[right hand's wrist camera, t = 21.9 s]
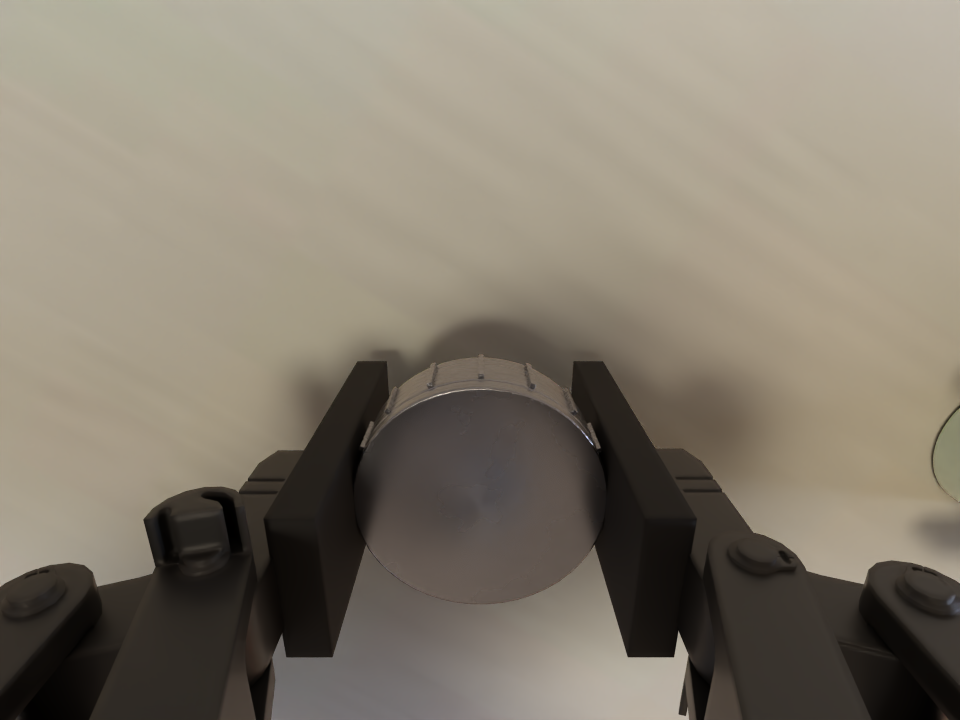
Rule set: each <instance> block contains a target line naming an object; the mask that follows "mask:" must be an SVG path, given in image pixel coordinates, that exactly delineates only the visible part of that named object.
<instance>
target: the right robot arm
mask: <svg viewBox="0 0 960 720" xmlns="http://www.w3.org/2000/svg"><path fill="white" fill-rule="evenodd" d="M571 396H572V398H573V401H574V402H575V403H576V405H577V406H578V407H579V409H580V411H581V413H582V415H583V416H584V418H585V420H586V423H587V424H588V423H591V425H592V427H593V429H594V432H595V434H596V437H597V439H598V441H599V444H600V446H601V449H602V452H601V453H599V456H600V458H601V461H602V464H603V466H604V469H605V473H606V478H607V483H608V490H607V502H606V512H605V520H604V524H603V527H602V530H601V532H600V534H599V537H598V539H597V541H596V542H595V548H596V551H597V554H598V558H599V561H600V564H601V568H602V571H603V575H604V578H605V581H606V585H607V588H608V592H609V595H610V598H611V602H612V605H613V609H614V612H615V615H616V619H617V622H618V625H619V629H620V632H621V636H622V639H623V642H624V646H625V649H626V653H627V656H628V657H674V654H675V648H676V642H677V636H678V630H679V633H680V635H681V638H682V640H683V642H684V645H685V647H686V649H687V652H688V654H689V656H688V661H687V667H686V672H685V678H684V684H683V689H682V695H681V700H680V707H679V715H684V716H686V713H687V707H688V712H689V720H960V583H958V582H957V581H955V580H953V579H951V578H949V577H947V576H945V575H943V574H941V573H939V572H937V571H935V570H933V569H930V568H927V567H923V566H921V565H917V564H913V563H907V562H899V561H886V562H879V563H876V564H875V565H874V566H873V567H871V568H870V569H869V570H868V574H867V577H866V580H865V583H864V584H859V583H854V582H850V581H845V580H841V579H836V578H831V577H827V576H822V575H818V574H815V573H811V572H808V571H806V569H805V566H804V565H803V564H802V562H801V561H800V559H799V558H798V557H797V555H796V554H795V553H793V552H792V551H791V550H789V549H788V548H787V547H785V546H784V545H783V544H781V543H779V542H777V541H775V540H773V539H771V538H769V537H766V536H764V535H760V534H756V533H753V532H752V530H751V529H750V528H749V526H748V525H747V523H746V522H745V521H744V519H743V518H742V517H741V515H740V514H739V512H738V511H737V510H736V508H735V507H734V506H733V504H732V503H731V501H730V500H729V499H728V497H727V496H726V495H725V493H722V489H721V488H720V486H719V485H718V484H717V482H716V481H715V480H713V477H712V475H711V474H710V473H709V471H708V470H707V468H706V467H705V466H704V464H703V463H702V462H701V461H700V460H698V459H697V458H695V457H694V456H692V455H691V454H689V453H688V452H686V451H685V450H683V449H655V448H654V446H653V444H652V443H651V441H650V439H649V438H648V436H647V434H646V433H645V431H644V429H643V428H642V426H641V424H640V423H639V421H638V419H637V418H636V416H635V414H634V413H633V411H632V409H631V408H630V406H629V404H628V403H627V401H626V399H625V398H624V396H623V394H622V393H621V391H620V389H619V388H618V386H617V384H616V383H615V381H614V379H613V378H612V376H611V374H610V373H609V371H608V369H607V368H606V366H605V364H604V363H603V361H574V364H573V379H572V395H571ZM388 399H389V390H388V374H387V361H358V362H357V363H356V365H355V367H354V368H353V370H352V372H351V373H350V375H349V377H348V378H347V380H346V382H345V383H344V385H343V387H342V388H341V390H340V392H339V393H338V395H337V397H336V398H335V400H334V402H333V403H332V405H331V407H330V408H329V410H328V412H327V413H326V415H325V417H324V418H323V420H322V422H321V423H320V425H319V427H318V428H317V430H316V432H315V433H314V435H313V437H312V438H311V440H310V442H309V443H308V445H307V447H306V448H305V450H304V451H277V452H275V453H274V454H272V455H271V456H269V457H268V458H266V459H265V460H263V461H262V462H260V463H259V464H258V466H257V467H256V468H255V470H254V471H253V473H252V474H251V475H250V477H249V478H248V482H245V484H244V485H243V486H242V488H241V489H240V491H239V493H238V492H237V491H236V490H233V489H229V488H225V487H203V488H199V489H194V490H190V491H186V492H183V493H181V494H178V495H176V496H173V497H171V498H168V499H167V500H165V501H164V502H162V503H161V504H159V505H158V506H156V507H154V508H153V509H152V510H151V511H150V513H149V514H148V515H147V516H146V517H145V518H144V524H145V528H146V532H147V536H148V539H149V543H150V547H151V551H152V555H153V559H154V563H155V566H156V567H155V570H154V572H153V574H150V575H147V576H143V577H140V578H135V579H131V580H126V581H121V582H117V583H112V584H108V585H103V586H98V587H97V585H96V582H95V579H94V575H93V572H92V571H91V570H89V569H88V568H87V567H86V566H85V565H79V564H73V563H65V564H57V565H49V566H46V567H42V568H39V569H35V570H33V571H30V572H27V573H25V574H23V575H21V576H19V577H17V578H15V579H13V580H11V581H9V582H7V583H5V584H4V585H2V586H1V587H0V720H271V714H272V705H273V696H274V687H275V674H274V667H273V661H272V656H273V653H274V651H275V648H276V646H277V644H278V641H279V639H280V636H281V634H283V640H284V646H285V652H286V657H333V654H334V650H335V647H336V644H337V640H338V637H339V633H340V630H341V627H342V623H343V620H344V616H345V613H346V610H347V606H348V603H349V599H350V596H351V593H352V589H353V586H354V583H355V579H356V576H357V572H358V569H359V566H360V562H361V559H362V555H363V552H364V549H365V545H366V543H365V541H364V540H363V538H362V536H361V533H360V531H359V528H358V526H357V523H356V518H355V508H354V498H353V480H354V476H355V471H356V467H357V465H358V462H359V460H360V457H361V454H362V451H359V447H360V445H361V443H362V440H363V438H364V435H365V433H366V431H367V428H368V426H369V423H370V421H372V422H375V419H376V417H377V415H378V414H379V412H380V410H381V408H382V407H383V405H384V404H385V403H386V401H387V400H388Z"/></svg>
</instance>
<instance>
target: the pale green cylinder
mask: <svg viewBox="0 0 960 720" xmlns="http://www.w3.org/2000/svg"><path fill="white" fill-rule="evenodd" d="M933 468H934V473H935V476H936V478H937V481H938V483H939V484H940V486H941V487H942V489H943V490H944V491H945V492H946V493H947V494H948V495H950V496H951V497H953V498H954V499H955V500H957V501H958V502H960V408H959V409H958V410H957V411H956V412H955V413H954V414H953V415H952V417H951V418H950V419H949V420H948V422H947V423H946V425H945V426H944V428H943V429H942V431H941V433H940V435H939V437H938V440H937V442H936V445H935V449H934V455H933Z"/></svg>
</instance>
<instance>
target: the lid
mask: <svg viewBox="0 0 960 720" xmlns="http://www.w3.org/2000/svg"><path fill="white" fill-rule="evenodd" d="M359 451H362V454H361V457H360V460H359V462H358V465H357V467H356V471H355V476H354V480H353V498H354V508H355V518H356V523H357V526H358V528H359V531H360V533H361V536H362V538H363V540H364V541H365V543H366V545H367V547H368V548H369V550H370V551H371V553H372V554H373V555H374V556H375V558H376V559H377V560H378V561H379V562H380V563H381V564H382V565H383V566H384V567H385V568H386V569H387V570H388V571H389V572H390V573H391V574H393V575H394V576H395V577H397V578H398V579H399V580H400V581H402V582H404V583H405V584H407V585H409V586H411V587H412V588H414V589H416V590H418V591H421V592H423V593H425V594H427V595H430V596H434V597H437V598H440V599H443V600H448V601H453V602H458V603H467V604H493V603H503V602H508V601H513V600H518V599H521V598H524V597H527V596H530V595H533V594H535V593H538V592H540V591H542V590H544V589H546V588H548V587H550V586H552V585H553V584H555V583H557V582H559V581H560V580H561V579H563V578H564V577H565V576H567V575H568V574H569V573H571V572H572V571H573V570H574V569H575V568H576V567H577V566H578V565H579V564H580V563H581V562H582V561H583V559H584V558H585V557H586V556H587V555H588V553H589V552H590V551H591V549H592V547H593V546H594V544H595V542H596V541H597V539H598V537H599V534H600V532H601V530H602V527H603V524H604V520H605V512H606V502H607V490H608V483H607V478H606V473H605V469H604V466H603V464H602V461H601V458H600V456H599V453H601V452H602V449H601V446H600V444H599V441H598V439H597V437H596V434H595V432H594V429H593V427H592V425H591V423H588V424H587V423H586V420H585V418H584V416H583V415H582V413H581V411H580V409H579V407H578V406H577V405H576V403H575V402H574V401H573V398H572V396H571V393H570V391H569V389H568V388H567V387H566V388H564V389H562V388H561V387H560V386H559V385H558V384H557V383H555V382H554V381H553V380H551V379H550V378H549V377H547V376H545V375H544V374H542V373H540V372H538V371H537V370H535V369H532V366H531V364H529V363H526V365H522V364H520V363H516V362H512V361H508V360H504V359H497V358H489V357H484V354H479V355H478V357H472V358H464V359H456V360H452V361H448V362H444V363H441V364H438V365H437V364H436V362H434V363H431V365H430V368H428V369H426V370H424V371H422V372H420V373H418V374H417V375H415V376H413V377H412V378H411V379H409V380H408V381H406V382H405V383H404V384H402V385H401V386H400V387H399V388H397V387H396V386H395V387H394V388H393V389H392V391H391V394H390V396H389V399H388V400H387V401H386V403H385V404H384V405H383V407H382V408H381V410H380V412H379V414H378V415H377V417H376V419H375V422H372V421H370V423H369V426H368V428H367V431H366V433H365V435H364V438H363V440H362V443H361V445H360V447H359Z"/></svg>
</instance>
